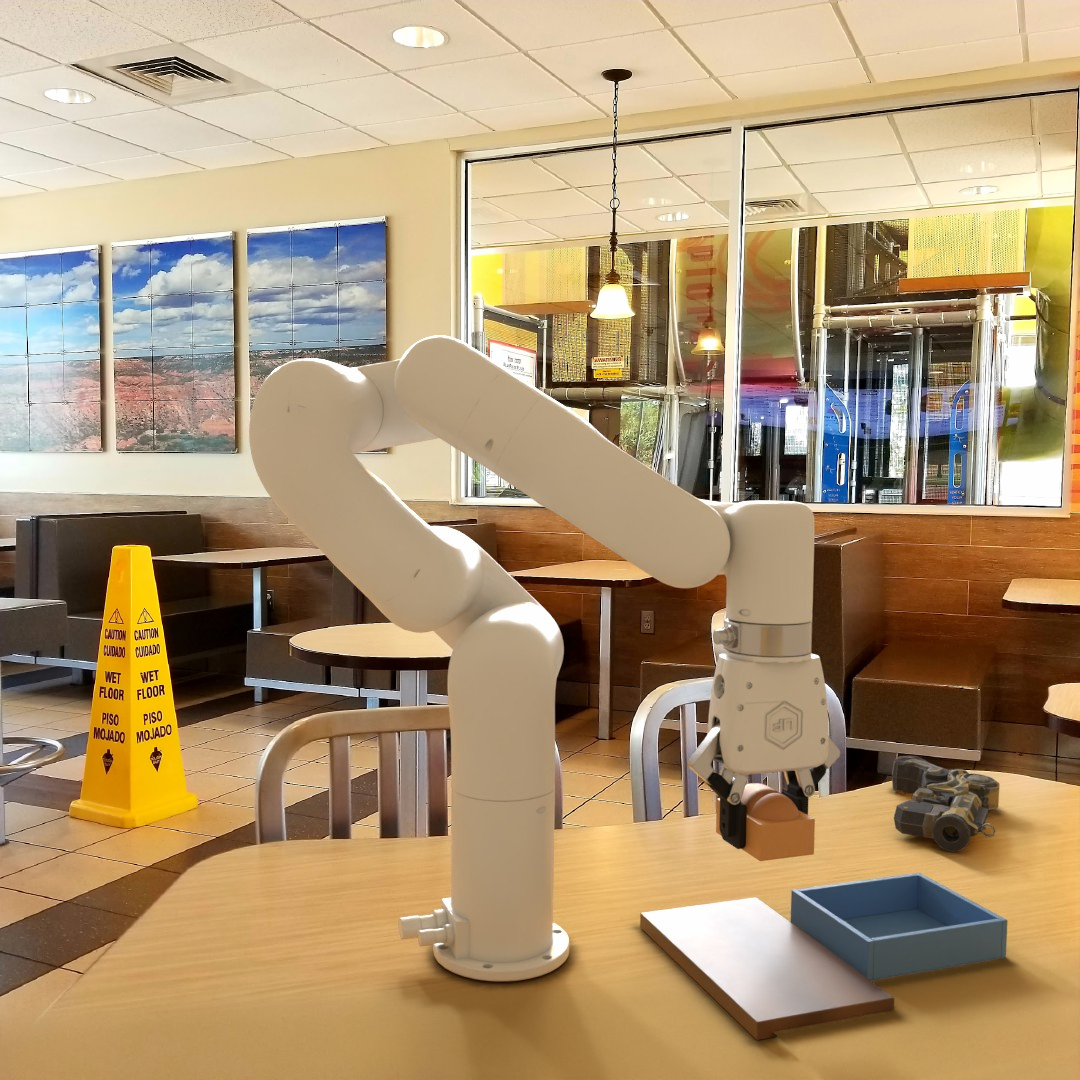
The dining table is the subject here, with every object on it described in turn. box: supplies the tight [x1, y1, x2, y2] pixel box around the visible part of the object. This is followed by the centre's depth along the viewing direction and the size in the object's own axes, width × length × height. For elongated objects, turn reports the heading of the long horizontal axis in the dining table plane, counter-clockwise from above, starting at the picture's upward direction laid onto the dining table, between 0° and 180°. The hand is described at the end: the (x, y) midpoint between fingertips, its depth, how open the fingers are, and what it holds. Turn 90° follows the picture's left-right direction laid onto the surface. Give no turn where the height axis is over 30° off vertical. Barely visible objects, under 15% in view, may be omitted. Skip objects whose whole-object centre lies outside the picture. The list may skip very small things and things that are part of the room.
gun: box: [891, 755, 1000, 852], centre depth 140 cm, size 5×26×15 cm
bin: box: [790, 872, 1008, 982], centre depth 102 cm, size 15×12×4 cm
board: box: [639, 896, 895, 1041], centre depth 97 cm, size 13×22×2 cm, turn 19°
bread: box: [715, 782, 816, 862], centre depth 96 cm, size 5×8×5 cm
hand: (763, 838), depth 96 cm, fingers closed on bread, 5 cm apart
